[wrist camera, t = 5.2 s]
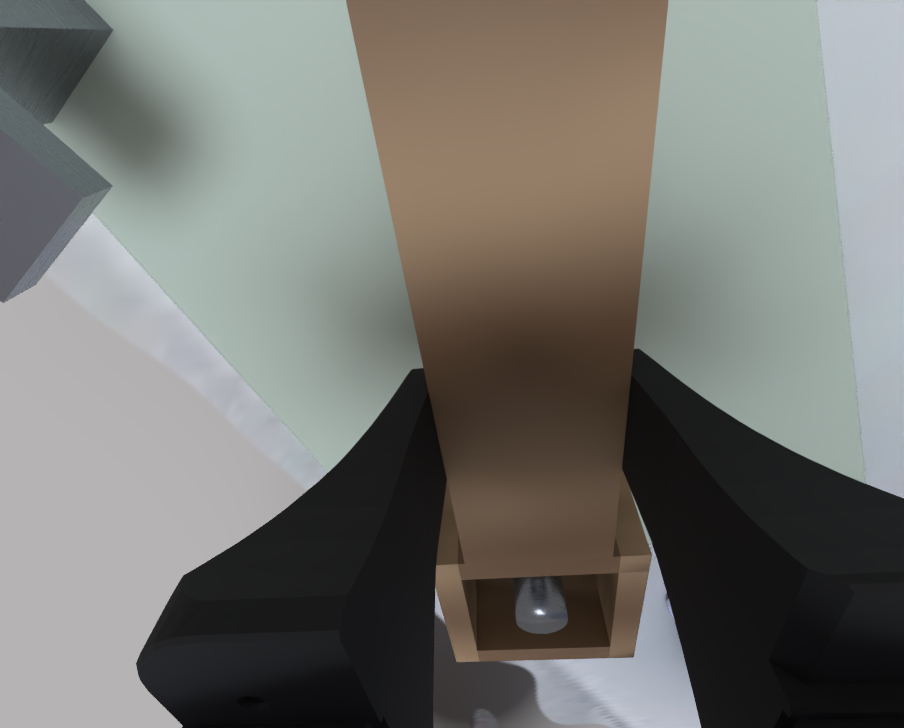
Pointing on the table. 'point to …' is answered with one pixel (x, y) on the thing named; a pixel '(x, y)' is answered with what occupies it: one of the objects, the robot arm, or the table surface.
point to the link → (524, 291)
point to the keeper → (42, 134)
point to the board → (372, 232)
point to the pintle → (540, 604)
